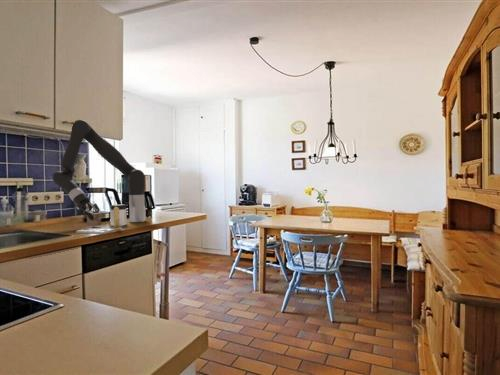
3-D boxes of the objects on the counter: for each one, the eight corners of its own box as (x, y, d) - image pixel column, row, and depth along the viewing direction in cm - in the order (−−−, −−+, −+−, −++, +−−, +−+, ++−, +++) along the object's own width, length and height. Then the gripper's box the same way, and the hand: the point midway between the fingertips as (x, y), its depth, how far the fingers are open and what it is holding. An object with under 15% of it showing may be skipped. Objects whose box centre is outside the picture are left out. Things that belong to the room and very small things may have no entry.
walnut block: (94, 224, 185) (93, 212, 184) (101, 225, 183) (100, 213, 183) (87, 226, 180) (86, 213, 180) (94, 226, 178) (93, 214, 178)
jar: (112, 226, 184) (111, 205, 183) (109, 224, 191) (108, 204, 190) (128, 225, 189) (127, 204, 188) (125, 223, 196) (124, 204, 195)
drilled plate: (88, 230, 172) (88, 228, 172) (114, 231, 167) (114, 229, 167) (76, 232, 164) (76, 230, 164) (103, 233, 159) (103, 231, 159)
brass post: (116, 228, 175) (115, 206, 175) (123, 228, 174) (122, 206, 173) (110, 230, 171) (110, 207, 170) (117, 230, 169) (116, 207, 169)
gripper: (72, 193, 176) (90, 215, 173) (91, 192, 190) (109, 212, 187) (65, 203, 178) (83, 224, 175) (85, 200, 192) (102, 221, 189)
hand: (96, 218), depth 181 cm, fingers closed on walnut block, 5 cm apart
